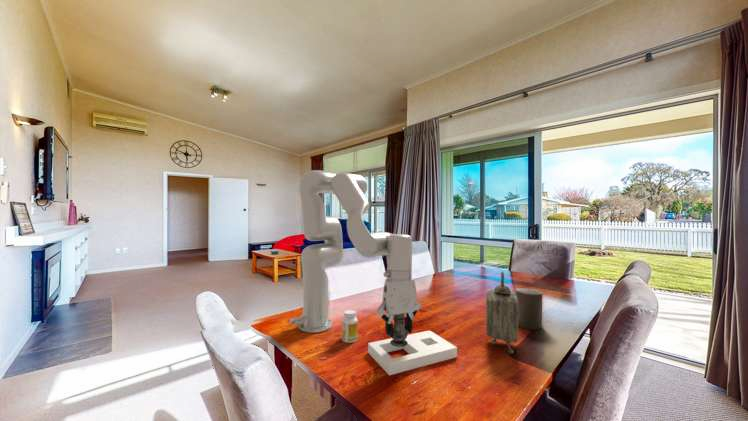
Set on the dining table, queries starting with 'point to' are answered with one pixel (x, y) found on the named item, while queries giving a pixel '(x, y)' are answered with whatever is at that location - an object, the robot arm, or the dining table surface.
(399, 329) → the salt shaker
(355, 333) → the supplement bottle
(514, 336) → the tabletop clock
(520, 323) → the pillar candle
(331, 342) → the dining table surface
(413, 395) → the dining table surface
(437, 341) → the socket board
